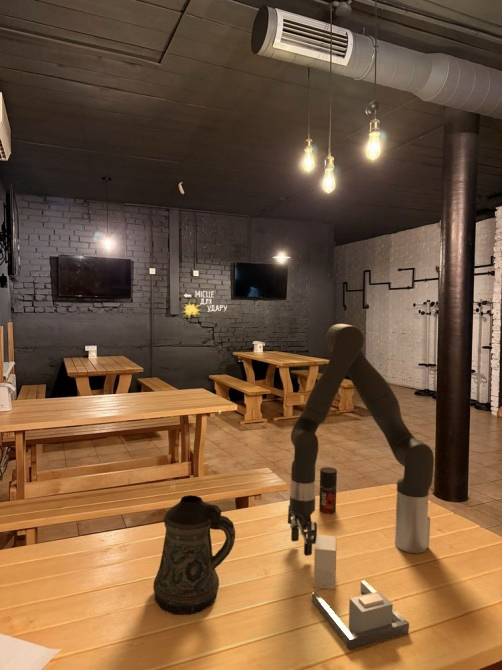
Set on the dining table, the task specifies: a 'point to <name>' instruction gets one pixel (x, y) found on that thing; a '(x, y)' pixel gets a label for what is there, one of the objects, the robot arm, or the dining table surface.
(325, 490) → the deodorant
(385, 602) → the block
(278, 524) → the dining table surface
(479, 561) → the dining table surface
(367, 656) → the dining table surface
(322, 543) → the small box
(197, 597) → the beer stein
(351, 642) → the rail
